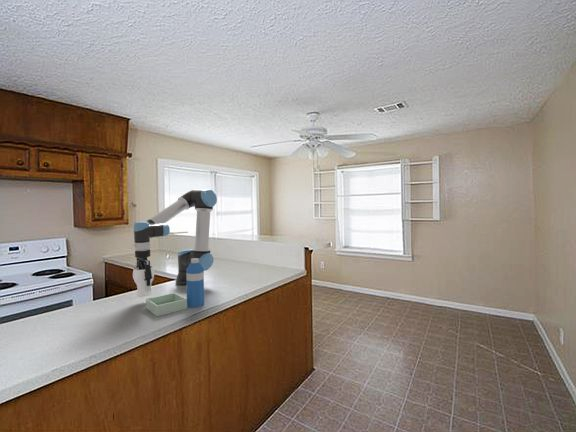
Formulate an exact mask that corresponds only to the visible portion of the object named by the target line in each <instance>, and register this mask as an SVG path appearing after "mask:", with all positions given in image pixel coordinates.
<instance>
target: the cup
mask: <svg viewBox="0 0 576 432" xmlns="http://www.w3.org/2000/svg"><path fill="white" fill-rule="evenodd" d="M150 267H151V274H152V279H150V280H151V284H153V283H152V282H153V281H154V277H155V269H154V266H151V265H150ZM144 271H145V269H144V270H138V267H134V268H133V271H132V279H133V280H134V283H135V284H136V288H137V290H136V297H140V298H141V297H142V298H143V297H148V296H151V295H152V294H153V289H152V288H151V291H149V292H145V281H144V279H145V273H144Z"/></svg>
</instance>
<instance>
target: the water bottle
mask: <svg viewBox="0 0 576 432" xmlns="http://www.w3.org/2000/svg"><path fill="white" fill-rule="evenodd" d="M186 274H187V285H186V299H187V308H188V307H189V308H193V309H194V308H199V307H202V306H203V305H205V286H204V285H205V281H204V280H205V279H204V278H205V276H204V275H205V271H204V269H203V267H202V266H201V264H200V263H199V258H193V259H191V263H190V265H189V266H188V267H187V269H186Z"/></svg>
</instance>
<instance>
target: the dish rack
mask: <svg viewBox="0 0 576 432" xmlns="http://www.w3.org/2000/svg"><path fill="white" fill-rule="evenodd" d="M145 309H146V310H148V311H149V312H151V313H152V314H153V315H154V316H156V317H160V316H164V315H167V314H171V313H175V312H179V311H182V310H186V309H188V307H187V297H184V296H182V295H180V294H178V293H177V292H171V293H167V294H162V295H157V296H153V297H148V298H146V299H145Z"/></svg>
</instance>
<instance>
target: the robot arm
mask: <svg viewBox="0 0 576 432" xmlns="http://www.w3.org/2000/svg"><path fill="white" fill-rule="evenodd" d="M217 202H218V197H217V194H216V193H215V192H214V190H212V189H208V188H202V189H191V190H190V191H188V192H186V193H184V194H182V195H181V196H179V197H178V198H177V200H176V201H175V202H173V203H171V204H169V206H167V207H166V208H164V209H163V210H161V211H159V212H158V213H157V214H155V215H154V216H152V217H150V218H149V219H148V220H146V221H136V222H134V223H133V236H134V237H133V239H134V241H133V242H134V244H133V247H134V250H135V251H134V257H135V259H136V267H138V270H144V269H145V271H144V273H145V279H144V281H145V292H149V291H151V289H152V283H151V280H150V279H152V274H151V267H150V266H151V261H150V260H148V258H149V257H151V240H150V239H152V238H161V237H162V238H163V237H167V236H168V235H169V234H170V231H171V230H170V229H171V228H170V226H169V224H168V222H169V221H170V220H172V219H173V218H175V217H176V216H178V215H179V214H180V213H183V212H184V211H185V210H186V211H187V210H189V209H190V208H194V210H195V211H196V219H195V220H196V222H195V223H196V225H195V241H194V247H193V248H190V249H183V250H182V249H181V250H179V251H178V253H177V262H178V265H177V267H178V268H177V269H178V270H177V271H178V273H177V276H176V278H175V285H176V286H183V287H184V286H187V274H186V269H187V267H188V266H189V265H190V263H191V259H193V258H199V263H200V264H201V266H202V267H203V269H204V272H205V271H208V270H210V269H211V267H212V266H213V264H214V256H213V254H211V249H210V248H209V243H210V242H209V240H210V239H209V237H210V221H211V212H212V211H213V210H214V206H216V204H217ZM136 267H135V268H136Z"/></svg>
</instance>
